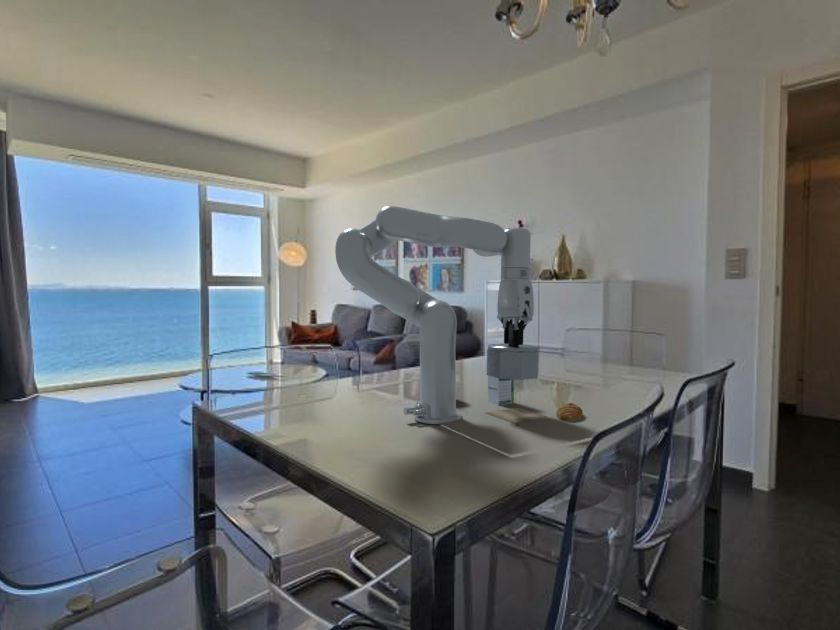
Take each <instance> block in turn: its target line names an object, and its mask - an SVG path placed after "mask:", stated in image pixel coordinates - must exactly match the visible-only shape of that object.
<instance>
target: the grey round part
mask: <svg viewBox="0 0 840 630" xmlns="http://www.w3.org/2000/svg"><path fill="white" fill-rule="evenodd" d="M513 330H515V329H514V323H513V324H509V330H508V344H504V343H492V344H491V343H490V344H488V345H487V348H486V349H487V350H486V355H487V356H486V376H487V377H488V376H492V377H495V378H499V379H514V381H515V380H519V381H524V380H533V379H534V380H535V379H538V378H539V367H540V366H539V365H540V363H539V362H540V346H538V345H534V344H533V345H532V344H525V343H523V345H513V344H512V340H513Z"/></svg>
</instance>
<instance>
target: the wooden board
mask: <svg viewBox="0 0 840 630" xmlns="http://www.w3.org/2000/svg"><path fill="white" fill-rule="evenodd" d="M485 415H489V416H491V417H494V418H496V419H500V420H503V421H504V422H505V421H506V422H508V423H511V424H517V423H522V422H527V421H534V420H538V419H539V420H540V419H544V418H548V416H547V415H543V414H541V413H537V412H534V411H531V410H529V409H528V410H527V409H524V408H520V407H513V408H507V409H506V408H505V409H500V410H495V411H487V412H485Z"/></svg>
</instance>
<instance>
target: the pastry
mask: <svg viewBox="0 0 840 630" xmlns="http://www.w3.org/2000/svg"><path fill="white" fill-rule="evenodd" d="M556 417H557V419H558V420H560V421H562V422H567V423H572V422H573V423H574V422H575V423H576V422H577V421H580V420H581V419H582V418H583V410H582V408H581V407H580V406H578V405H577V404H575V403H573V402H568V403H563V404H562V405H560V406H559V408H557V409H556Z"/></svg>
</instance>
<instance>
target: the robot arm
mask: <svg viewBox="0 0 840 630" xmlns="http://www.w3.org/2000/svg"><path fill="white" fill-rule="evenodd" d="M398 241H399V242H400V241H401V242H405V243H410V244H416V245H421V246H425V247H429V248H430V247H431V248H446V247H449V248H450V247H453V248H454V247H456V248H462V249H468V250H473V252H474V253H475V254H476V255H479V256H480V257H483V258H484V257H495V256H496V257H497V256H500V282H499V285H498V293H497V294H498V295H497V316H496V317H497V318H496V319H498V320H499V321H500V323H501V324H502V329H503V344H508V330H509V324H514V329H515V330H513V340H512V344H513V345H523V344H524V331H525V330H526V327H527V325H528V324H529V323H531V322H532V321H533V316H534V315H535V314H534V313H535V311H534V310H535V308H534V307H535V306H534V305H535V302H534V290H533V289H534V288H533V283H532V280H530V275H531V271H530V270H531V269H530V268H531V266H530V265H531V262H530V261H531V232H530V230H529V229H527V228H525V227H524V228H523V227H512V228H507V229H504V228H503V227H502V226H500V225H499V224H496V223H493V222H490V221H489V222H488V221H486V220H485V221H484V220H480V219H474V218H468V217H463V216H462V217H460V216H451V215H444V214H443V215H442V214H436V213H430V212H424V211H419V210H416V209H411V208H405V207H401V206H395V205H387V206H384V207H382V208H381V209H380V210H379V211H378V212H377V214H376V217H375V219H374V220H372V221H371V222H368V224H366V225H364V226H363V227H361V228H359V229H358V228H353V227H352V228H347V229H345V230H342V232H341V233H340V234H339V235H338V237H337V239H336V242H335V248H334V249H335V250H334V251H335V260H336V264H337V267H338V270H339V271H340V273H341V275H342V276H343V277H344V278H345V280H346V281H347V282H348V283H349V284H350V285H351V286H352V287H354V288H355V289H357V290H359V291H360V292H362V293H363V294H365V295H366V296H367V297H370V299H372V300H374V301H375V302H377V303H379V304H381V305H382V306H384V307H386V308H387V309H388V310H389V311H390V312H391V313H393V314H396V315H398V316H400V318H403V319H404V320H406V321H408V322H409V323H411V324H413V325H415V326H416V327H418V328H419V390H420V391H419V396H420V399H419V401H416V404H415V405H413V406H409V407H408V406H407V407H406V406H405V407H404V408H403V414H404V416H409V415H412V416H414V420H415V421H416V422H419V423H421V424H427V425H442V424H447V423H454V422H457V421H460V420H462V417H463V414H462V413H461V412H459V411H458V410H457V399H456V396H457V395H456V393H457V391H456V390H457V386H456V385H457V383H456V382H457V381H456V374H457V372H456V369H457V368H456V366H457V365H456V346H457V345H456V344H457V343H456V342H457V326H458V325H457V324H458V321H457V315H456V311H455V309H454V308H453V306H451V304H450V303H449V302H446V301H443V300H440V299H437V298H435V297H434V296H432V295H431V294H429V293H427V292H426V291H424V290H422V289H420V288H419V287H417V286H416V285H415V284H414V283H412V282H411V281H409V280H407V279H404V278H402V277H400V276H399V275H397V274H395V273H393V272H391V271H390V270H388V269H387V268H385V267H384V266H382V265H380V264H379V263H377V262H376V261H375V260H374V259H373V257H375V256H376V255H378V254H380V253H381V252H383V251H384V250H386V249H387V248H390V247H391V246H392V245H393V244H395V243H397V242H398Z"/></svg>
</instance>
